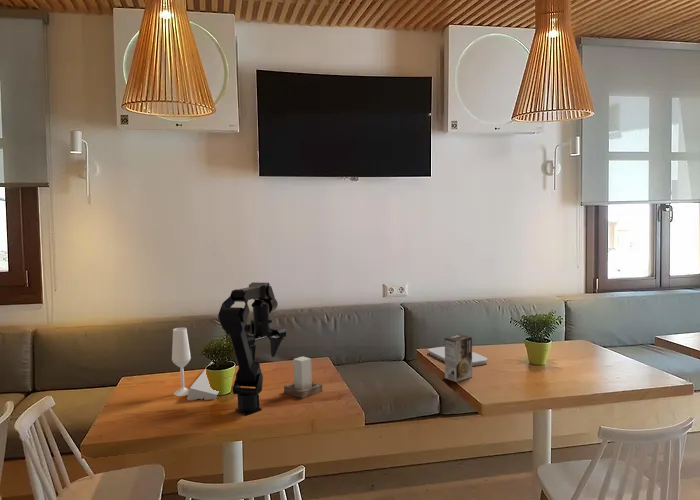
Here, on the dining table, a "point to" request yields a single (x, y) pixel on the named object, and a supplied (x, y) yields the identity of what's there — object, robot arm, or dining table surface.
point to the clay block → (302, 373)
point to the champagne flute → (181, 355)
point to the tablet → (440, 354)
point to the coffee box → (458, 357)
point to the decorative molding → (202, 389)
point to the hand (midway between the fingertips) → (262, 359)
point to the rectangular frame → (303, 393)
